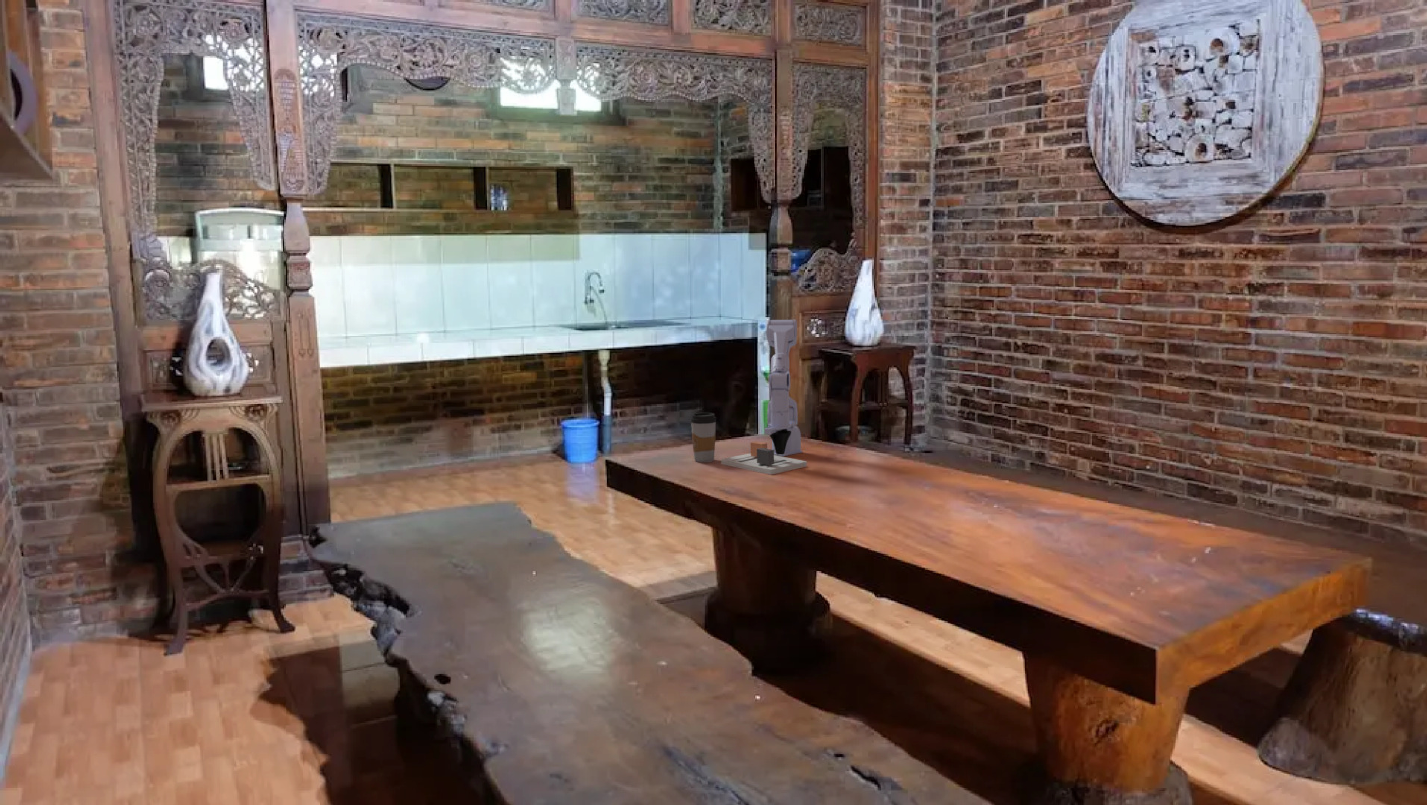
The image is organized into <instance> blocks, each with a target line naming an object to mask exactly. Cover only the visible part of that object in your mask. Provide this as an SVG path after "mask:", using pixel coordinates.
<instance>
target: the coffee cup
mask: <svg viewBox="0 0 1427 805" xmlns="http://www.w3.org/2000/svg"><path fill="white" fill-rule="evenodd" d="M715 415H716V414H715V413H712V412H696V413H692V414H691V417H690V426H691V440H692V449H693V459H694V461H695V462H697V463H711V462H714V459H715V450H716V426H717V425H716V424H717V423H716V422H717V417H716V416H715Z"/></svg>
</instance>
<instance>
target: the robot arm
mask: <svg viewBox="0 0 1427 805" xmlns="http://www.w3.org/2000/svg"><path fill="white" fill-rule="evenodd" d="M797 337H798V322H797V320H796V318H794V319H768V320H766V338H767V342H768V346H771V347H773V348H774V354H773V355H772V357H771V358H770V360H771V361H770V373H769V374H768V389H769V397H770V400H769V401H768V403H767V411H766V412H767V414H766V415H767V416H766V418H767V427H765V428H764V435H766V436H769V437H770V439H771V450H774V455H776V456H781V457H786V456H793V455H796V454H799V453H803V450H802V446H801V445H802V444H801V442H802V441H801V439H802V438H801V437H802V435H801V430H800V428H799V426H797V425H798V423H799V422H798V421H799V420H798V417H799V416H798V403H797V401H796V400H794V399H793V398H792V397H790V389H791V374H790V351H791V348H792V347H794V346H796V345H797V341H798V340H797V339H798V338H797Z"/></svg>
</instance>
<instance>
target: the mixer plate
mask: <svg viewBox="0 0 1427 805" xmlns="http://www.w3.org/2000/svg"><path fill="white" fill-rule="evenodd" d="M720 464H721V465H723V466H728V467H733V468H738V469H743V470H747V471H751V472H755V473H756V472H757V473H761V474H765V475H775V474H779V473H783V472H784V473H785V472H787V471H791V470H792V471H793V470H797V469H801V468H805V467H808V461H805V460H801V459H795V458H790V457H786V456H779V455H774V464H772V465H764V464H759V463H757V457H754V456H751V452H750V453H746V454H741V455H735V456H731V457H725V458H721V459H720Z"/></svg>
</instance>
